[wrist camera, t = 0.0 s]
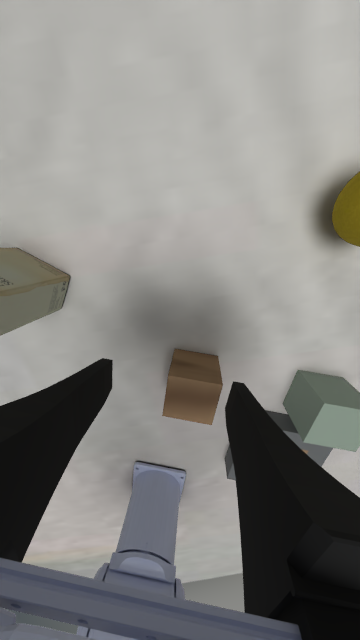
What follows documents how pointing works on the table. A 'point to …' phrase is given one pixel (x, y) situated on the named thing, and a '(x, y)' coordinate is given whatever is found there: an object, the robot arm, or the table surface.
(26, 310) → the skincare box
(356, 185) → the lemon
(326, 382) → the sage cube
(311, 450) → the charcoal block
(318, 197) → the table surface
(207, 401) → the walnut cube
